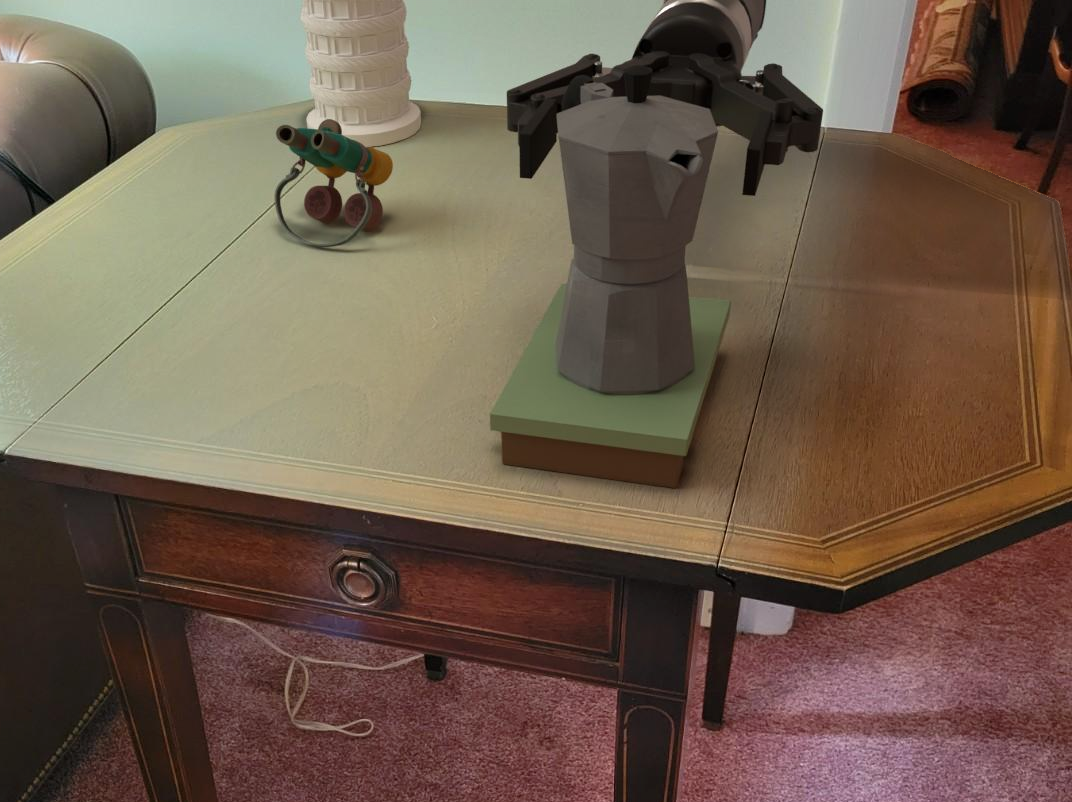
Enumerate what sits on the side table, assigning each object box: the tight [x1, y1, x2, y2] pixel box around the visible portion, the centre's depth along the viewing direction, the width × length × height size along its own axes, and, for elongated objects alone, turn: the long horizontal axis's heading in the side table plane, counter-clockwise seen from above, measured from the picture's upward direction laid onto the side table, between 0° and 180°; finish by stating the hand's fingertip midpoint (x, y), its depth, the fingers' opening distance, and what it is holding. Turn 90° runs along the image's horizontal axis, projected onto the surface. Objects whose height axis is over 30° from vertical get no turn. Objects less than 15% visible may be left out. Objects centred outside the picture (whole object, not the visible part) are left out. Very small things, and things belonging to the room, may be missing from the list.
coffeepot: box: [556, 65, 719, 395], centre depth 73 cm, size 15×9×18 cm, turn 21°
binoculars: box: [273, 119, 394, 248], centre depth 101 cm, size 9×9×10 cm
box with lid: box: [489, 283, 732, 489], centre depth 80 cm, size 12×18×4 cm, turn 163°
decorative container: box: [300, 0, 422, 148], centre depth 118 cm, size 12×12×18 cm
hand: (635, 164), depth 72 cm, fingers open, 13 cm apart
